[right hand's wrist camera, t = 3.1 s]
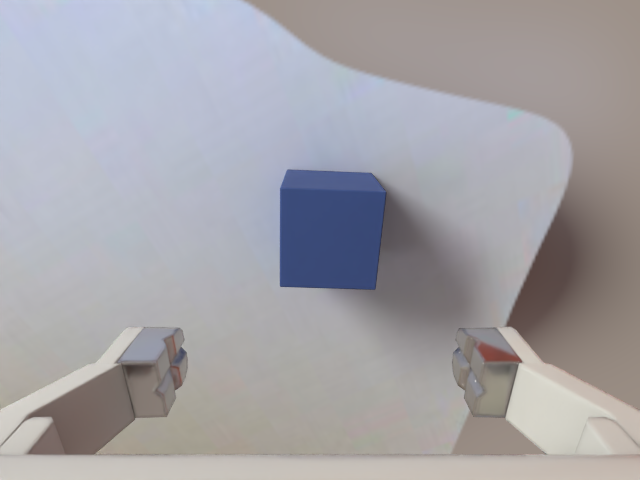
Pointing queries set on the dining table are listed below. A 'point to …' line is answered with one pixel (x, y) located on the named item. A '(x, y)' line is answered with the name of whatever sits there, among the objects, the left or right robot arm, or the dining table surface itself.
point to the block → (330, 229)
